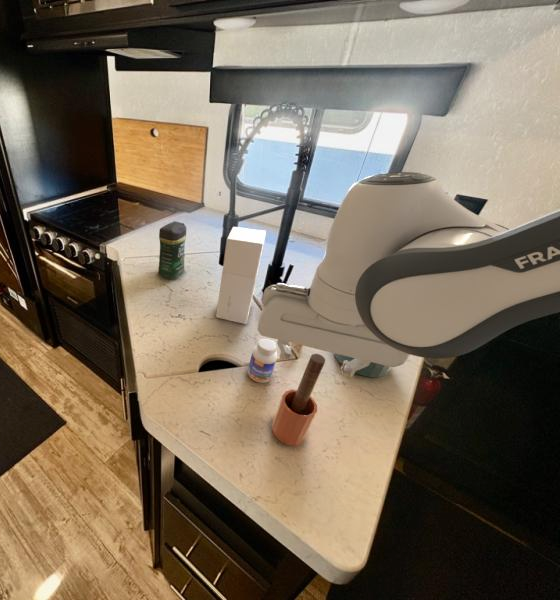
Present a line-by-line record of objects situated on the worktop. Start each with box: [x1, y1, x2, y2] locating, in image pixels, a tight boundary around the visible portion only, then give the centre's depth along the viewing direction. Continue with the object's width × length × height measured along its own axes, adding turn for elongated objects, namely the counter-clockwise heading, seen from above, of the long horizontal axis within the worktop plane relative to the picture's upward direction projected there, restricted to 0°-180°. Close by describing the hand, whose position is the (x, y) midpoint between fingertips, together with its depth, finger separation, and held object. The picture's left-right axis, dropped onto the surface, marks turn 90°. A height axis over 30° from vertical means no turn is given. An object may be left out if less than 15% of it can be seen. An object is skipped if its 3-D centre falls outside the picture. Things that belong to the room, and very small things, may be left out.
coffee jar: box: [158, 220, 187, 280], centre depth 107 cm, size 10×8×19 cm
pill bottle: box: [247, 337, 278, 384], centre depth 71 cm, size 5×5×10 cm
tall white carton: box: [216, 226, 267, 325], centre depth 86 cm, size 9×9×25 cm
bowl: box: [333, 353, 392, 378], centre depth 76 cm, size 12×12×6 cm
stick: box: [290, 353, 326, 415], centre depth 56 cm, size 4×2×20 cm, turn 69°
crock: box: [271, 389, 318, 447], centre depth 59 cm, size 6×6×9 cm
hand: (314, 364), depth 51 cm, fingers open, 8 cm apart
